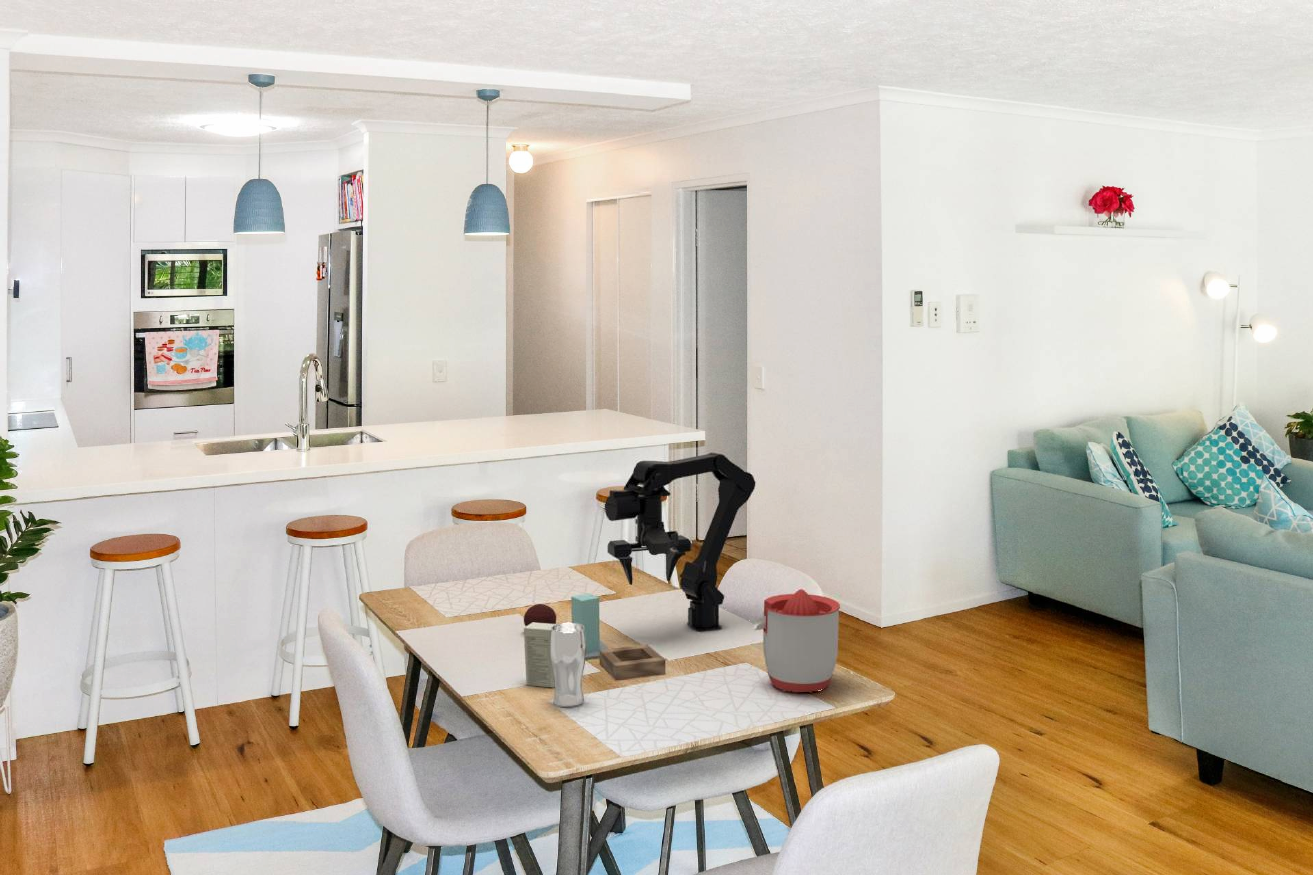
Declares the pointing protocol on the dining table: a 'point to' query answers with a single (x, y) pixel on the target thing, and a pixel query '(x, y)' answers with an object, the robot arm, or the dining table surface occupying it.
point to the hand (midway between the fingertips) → (649, 582)
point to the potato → (540, 615)
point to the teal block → (587, 618)
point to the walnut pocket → (632, 662)
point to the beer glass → (568, 663)
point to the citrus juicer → (800, 640)
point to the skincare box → (538, 655)
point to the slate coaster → (596, 652)
